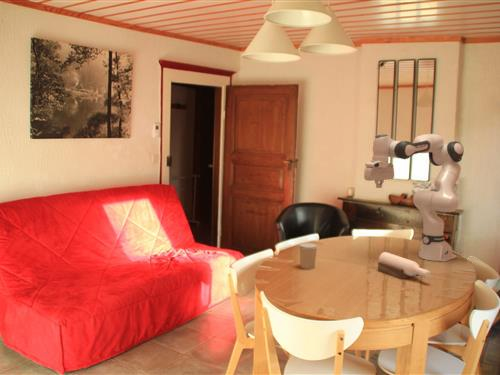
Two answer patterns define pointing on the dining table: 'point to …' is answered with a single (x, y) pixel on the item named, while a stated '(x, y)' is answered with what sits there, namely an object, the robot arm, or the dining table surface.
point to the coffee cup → (307, 255)
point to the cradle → (392, 270)
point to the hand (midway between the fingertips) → (378, 187)
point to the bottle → (403, 265)
